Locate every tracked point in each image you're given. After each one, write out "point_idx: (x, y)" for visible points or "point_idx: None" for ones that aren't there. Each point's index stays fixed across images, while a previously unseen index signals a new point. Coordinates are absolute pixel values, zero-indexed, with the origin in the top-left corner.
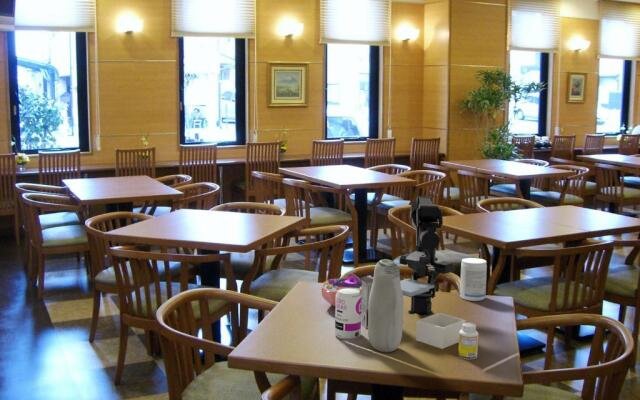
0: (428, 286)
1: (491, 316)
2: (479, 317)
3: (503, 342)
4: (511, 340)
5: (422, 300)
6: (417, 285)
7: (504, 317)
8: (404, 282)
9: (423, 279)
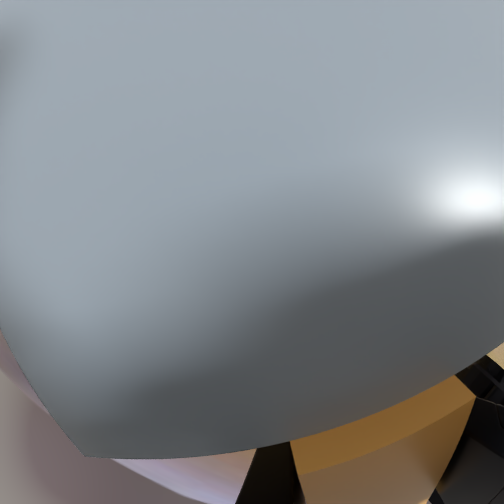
0: (9, 325)
1: (232, 487)
2: (241, 469)
3: (26, 379)
4: (38, 405)
5: None
6: (157, 117)
7: (210, 497)
8: (492, 67)
9: (373, 471)
